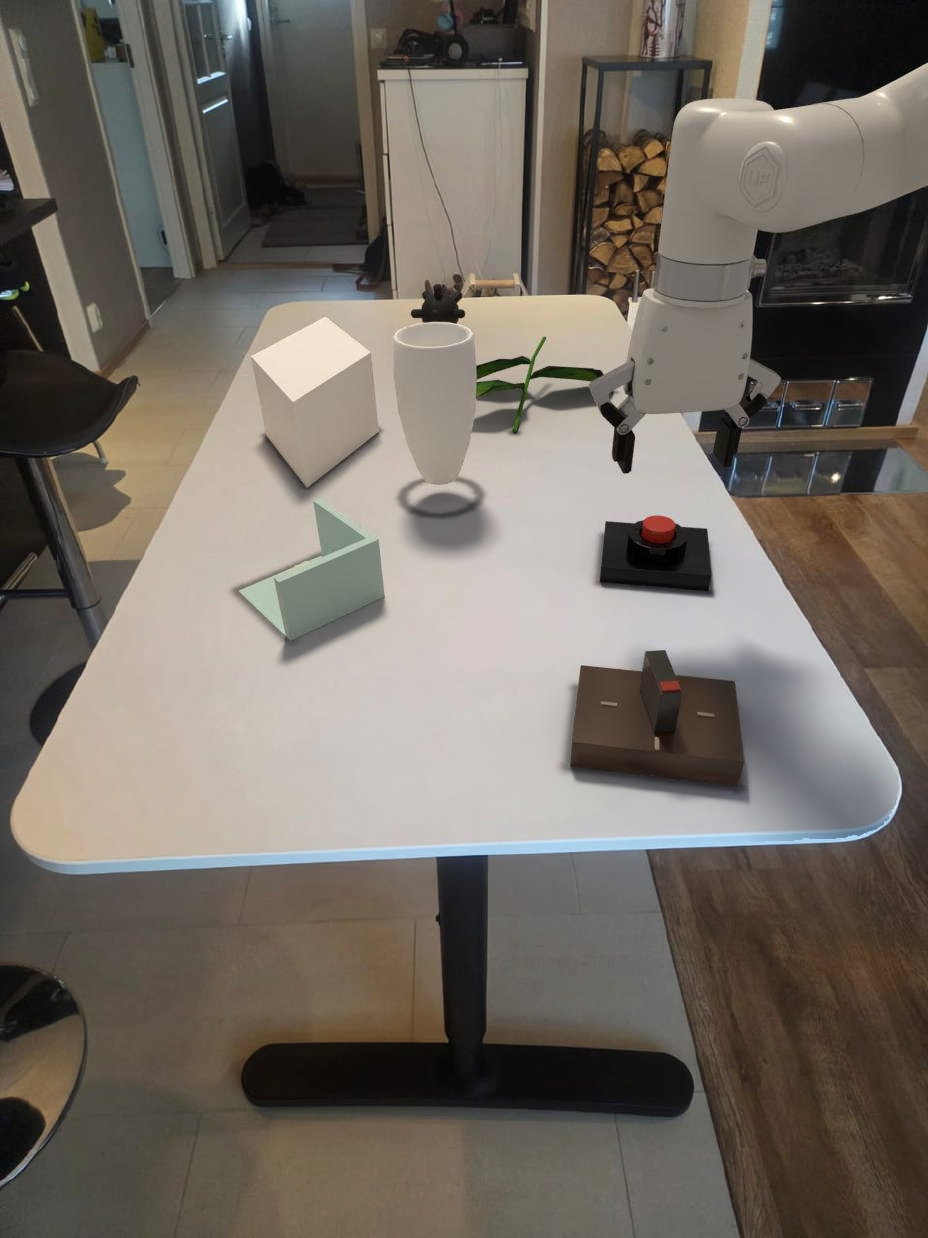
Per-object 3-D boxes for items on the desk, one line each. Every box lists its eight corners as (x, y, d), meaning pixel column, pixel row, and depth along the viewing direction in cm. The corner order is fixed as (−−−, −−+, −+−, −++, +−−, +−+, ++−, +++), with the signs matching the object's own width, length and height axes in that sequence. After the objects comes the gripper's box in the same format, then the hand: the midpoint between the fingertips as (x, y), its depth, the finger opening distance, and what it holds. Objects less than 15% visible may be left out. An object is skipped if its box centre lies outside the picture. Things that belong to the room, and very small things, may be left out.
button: (673, 529, 92) (675, 516, 91) (673, 546, 90) (675, 532, 89) (641, 527, 93) (643, 514, 92) (641, 543, 90) (642, 530, 89)
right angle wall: (328, 552, 97) (319, 498, 92) (384, 596, 90) (378, 539, 85) (238, 590, 91) (224, 534, 87) (290, 641, 84) (278, 582, 79)
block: (243, 489, 110) (224, 404, 103) (284, 391, 138) (271, 318, 130) (370, 485, 110) (361, 399, 103) (385, 388, 138) (378, 314, 130)
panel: (729, 704, 75) (735, 679, 73) (738, 787, 67) (745, 761, 65) (578, 688, 77) (580, 663, 75) (569, 766, 69) (572, 740, 67)
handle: (639, 689, 72) (645, 648, 69) (659, 687, 72) (665, 647, 69) (654, 733, 68) (661, 691, 65) (675, 731, 68) (683, 690, 65)
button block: (704, 543, 96) (709, 515, 94) (708, 591, 89) (714, 561, 86) (604, 536, 98) (606, 507, 96) (599, 582, 91) (602, 552, 88)
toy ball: (482, 312, 160) (474, 314, 149) (445, 351, 164) (435, 356, 153) (444, 271, 158) (434, 270, 147) (408, 311, 162) (395, 313, 151)
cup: (386, 497, 107) (370, 336, 94) (441, 470, 113) (434, 314, 100) (440, 524, 102) (432, 356, 88) (496, 494, 107) (495, 332, 94)
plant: (420, 404, 132) (417, 358, 127) (540, 364, 145) (542, 321, 141) (495, 441, 120) (495, 391, 116) (618, 393, 134) (622, 347, 129)
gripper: (784, 260, 70) (745, 441, 80) (588, 269, 69) (575, 451, 79) (822, 284, 64) (775, 476, 74) (609, 295, 63) (592, 488, 73)
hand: (672, 463), depth 77 cm, fingers open, 9 cm apart
